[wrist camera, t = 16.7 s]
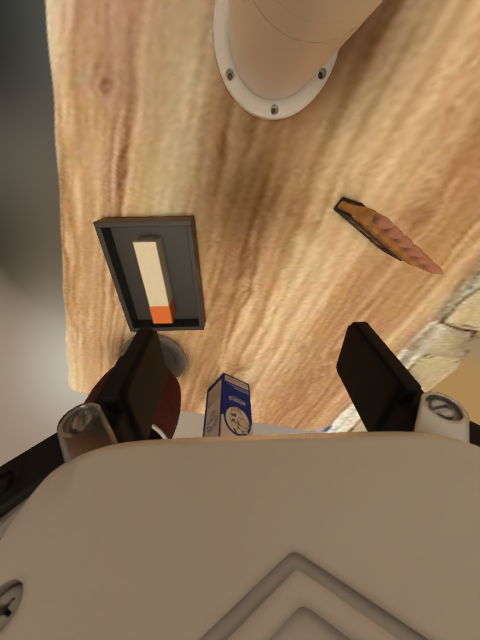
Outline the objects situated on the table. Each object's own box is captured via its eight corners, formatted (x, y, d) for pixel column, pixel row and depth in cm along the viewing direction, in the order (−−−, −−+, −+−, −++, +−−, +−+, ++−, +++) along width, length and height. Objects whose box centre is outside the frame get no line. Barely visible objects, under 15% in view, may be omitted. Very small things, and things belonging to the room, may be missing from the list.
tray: (103, 217, 32) (92, 222, 30) (193, 215, 32) (190, 220, 30) (136, 321, 42) (130, 331, 39) (205, 320, 42) (204, 329, 40)
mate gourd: (199, 344, 45) (180, 448, 29) (179, 388, 52) (154, 493, 35) (116, 317, 41) (37, 420, 25) (105, 369, 48) (39, 477, 32)
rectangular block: (139, 236, 33) (131, 242, 31) (161, 235, 33) (155, 241, 31) (158, 313, 41) (153, 323, 38) (176, 313, 41) (172, 323, 38)
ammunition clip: (333, 208, 32) (377, 229, 23) (343, 196, 32) (393, 211, 22) (382, 250, 36) (439, 284, 26) (392, 240, 35) (455, 270, 25)
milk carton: (249, 384, 52) (258, 488, 35) (232, 401, 55) (233, 503, 38) (223, 372, 50) (218, 477, 33) (206, 390, 53) (194, 494, 36)
